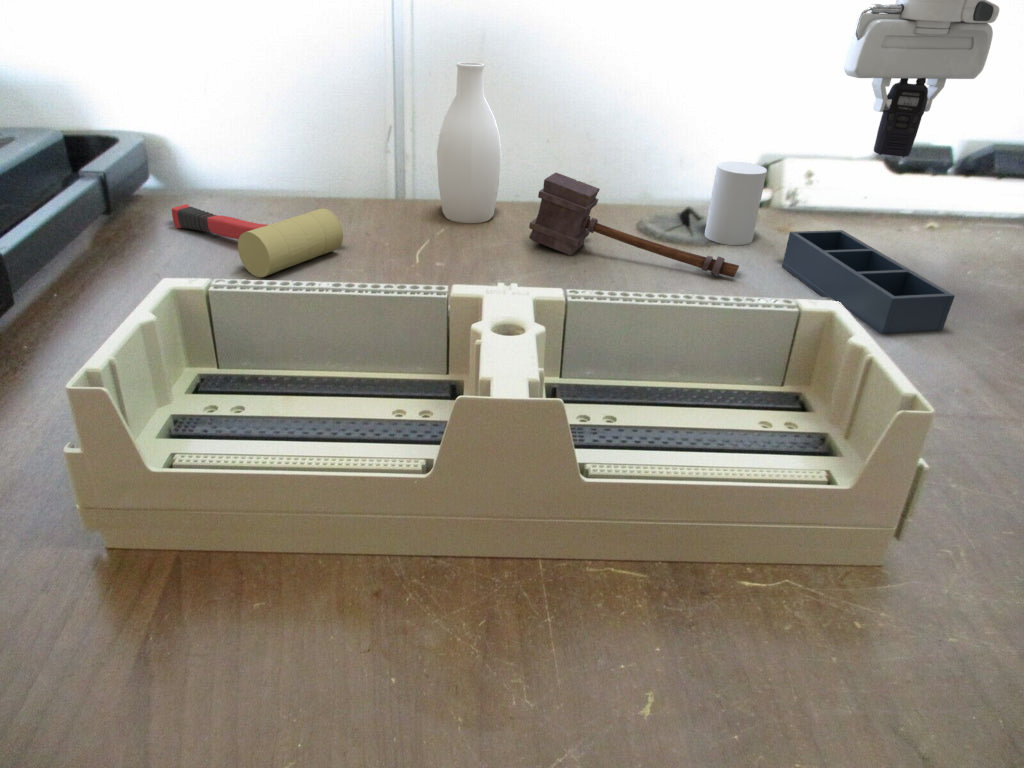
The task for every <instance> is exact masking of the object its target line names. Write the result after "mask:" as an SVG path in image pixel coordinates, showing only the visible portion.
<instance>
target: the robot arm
mask: <svg viewBox="0 0 1024 768" xmlns="http://www.w3.org/2000/svg"><path fill="white" fill-rule="evenodd" d="M999 13H1000V7H999V5H997V4H996V3H994V2H991V1H989V0H895V4H894V3H893V4H882V3H881V4H880V3H874V4H871V5H869V7H867V8H865V9H864V10H863V11H862V12H861V13H860V14H859V15H858V17H857V20H856V23H855V24H856V25H855V28H854V33H853V36H852V38H851V41H850V43H849V46H848V49H847V51H846V55H845V58H844V61H843V70H844V72H845V75H846V76H849V77H852V78H856V79H872V82H871V87H872V90H873V95H874V97H875V100H874V104H873V111H875V112H878V113H879V112H880V113H881V112H882V113H883V112H888V111H889V110H890V105H891V102H892V99H889V98H887V95H888V93H887V89H886V88H889V87H890V85H891V82H892V79H901V78H909V79H910V80H911V79H915V80H917V79H921V78H926V83H925V85H927V88H928V95H927V97H928V100H927V104H926V108H925V111H924V113H927V112H930V110H931V107H932V105H933V104H932V103H933V100H935V98H937V96H938V95H939V94H940V93H941V91H942V90H943V89H944V88H945V85H946V82H947V80H974V79H976V78H977V77H978V76H979V75H980V74H981V73H982V72H983V70H984V68H985V67H986V66H985V65H986V63H987V59H988V56H989V53H990V49H991V46H992V40H993V35H994V34H993V33H994V31H993V27H992V25H991V24H992V23H994V22H996V21H997V19H998V17H999ZM909 79H908V80H909Z"/></svg>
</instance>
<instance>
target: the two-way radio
mask: <svg viewBox="0 0 1024 768" xmlns="http://www.w3.org/2000/svg"><path fill="white" fill-rule="evenodd" d="M915 80H916V81H915V83H909V78H900V79H899V82H896V83H894V84H892V86H891V88H890V90H889V92H888V93H887V98H889V99H892V102H891V105H890V110H889V111H888V112H882V113H881V117H880V121H879V125H878V129H877V134H876V138H875V142H874V146H873V152H874V153H876V154H878V155H879V156H881V155H884V156H891V157H892V156H893V157H901V158H905V157H909V156H910V154H911V153H912V152H911V151H912V149H913V146H914V143H915V140H916V137H917V134H918V132H919V128H920V125H921V121H922V118H923V116H924V114H925V112H924V111H925V108H926V104H927V100H928V97H927V95H928V86H926V83H927V79H926V78H921V79H915Z"/></svg>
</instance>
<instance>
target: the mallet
mask: <svg viewBox="0 0 1024 768" xmlns="http://www.w3.org/2000/svg"><path fill="white" fill-rule="evenodd" d="M171 217H172V221H173V225H174V226H175V228H178V229H186V230H192V231H193V230H196V231H204V232H208V233H212V234H215V235H218V236H221V237H224V238H229V239H234V240H237V252H238V255H239V259H240V260H241V262H242V264H243V267H245V269H246V270H247V271H248V272H249V273H250V274H251V275H252V276H254V277H257V278H265V277H267V276H270V275H273V274H275V273H277V272H280V271H283V270H286V269H289V268H291V267H293V266H297V265H299V264H301V263H304V262H307V261H310V260H313V259H316V258H318V257H319V256H323V255H326V254H328V253H331V252H334V251H337V250H338V249H339V248H341V246H342V244H343V241H344V232H343V227H342V225H341V222H340V219H338V217H337V216H336V214H334V212H332V211H331V210H329V209H327V208H323V207H322V208H318V209H315V210H312V211H309V212H305V213H303V214H300V215H296V216H293V217H289V218H287V219H283V220H279V221H277V222H274V223H273V222H272V223H271V224H267V223H257V222H253V221H248V220H243V219H240V218H236V217H232V216H227V215H218V214H214V213H211V212H209V211H205V210H202V209H200V208H196V207H194V206H191V205H189V204H188V203H185V204H182V205H178V206H174V207H172V208H171Z"/></svg>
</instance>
